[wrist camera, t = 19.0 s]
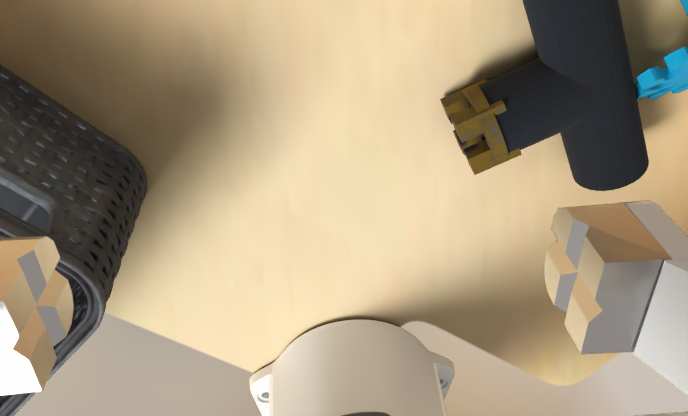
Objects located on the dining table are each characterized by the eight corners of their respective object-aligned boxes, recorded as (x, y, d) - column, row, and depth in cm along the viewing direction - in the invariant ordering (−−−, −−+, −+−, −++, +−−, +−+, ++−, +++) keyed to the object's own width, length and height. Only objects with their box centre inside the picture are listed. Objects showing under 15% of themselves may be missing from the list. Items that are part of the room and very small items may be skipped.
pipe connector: (501, 239, 42) (426, 52, 34) (479, 197, 47) (409, 23, 39) (664, 171, 40) (626, -44, 32) (625, 135, 45) (584, -63, 37)
